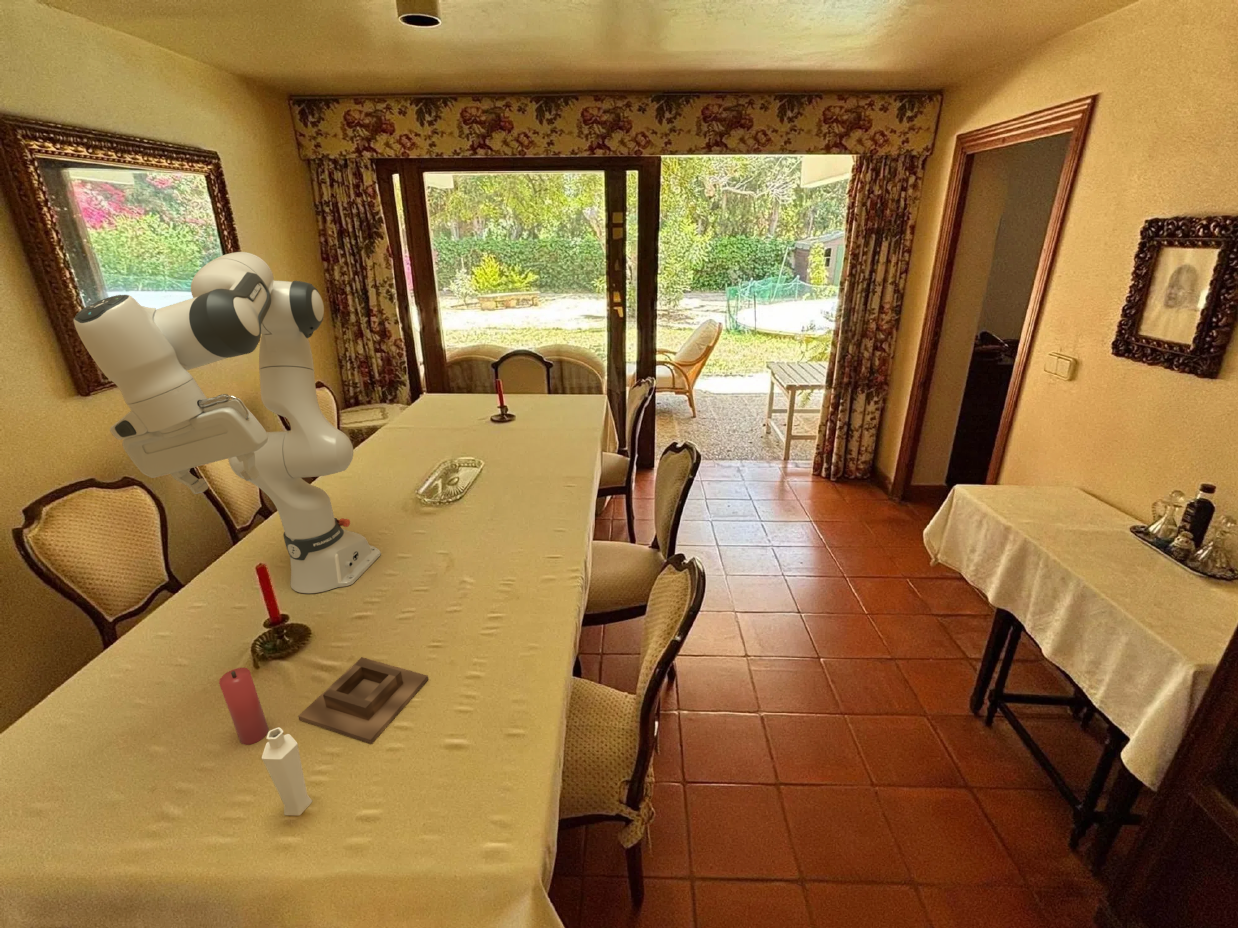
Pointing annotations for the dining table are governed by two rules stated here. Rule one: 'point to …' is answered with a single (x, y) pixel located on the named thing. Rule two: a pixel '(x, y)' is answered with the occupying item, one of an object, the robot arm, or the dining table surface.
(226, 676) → the burgundy candle
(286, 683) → the dining table surface
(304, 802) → the perfume bottle
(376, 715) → the walnut stand
